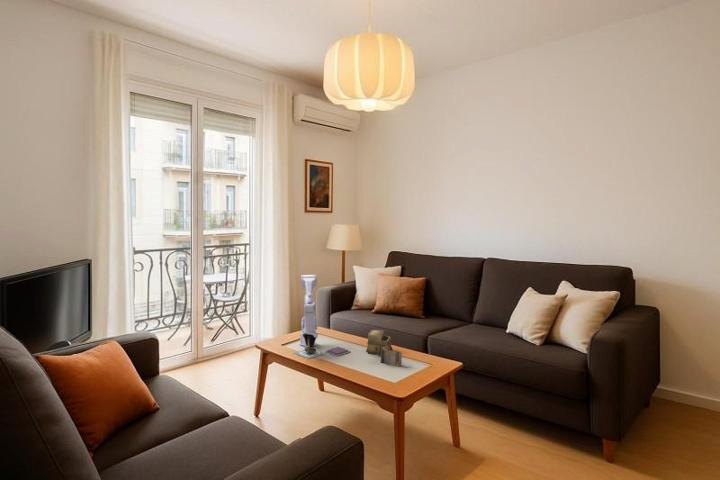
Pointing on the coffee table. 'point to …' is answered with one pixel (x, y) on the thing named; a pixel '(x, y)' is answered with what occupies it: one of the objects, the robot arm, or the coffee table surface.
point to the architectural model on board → (391, 357)
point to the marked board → (309, 354)
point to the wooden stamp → (310, 349)
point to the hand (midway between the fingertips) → (309, 346)
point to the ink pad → (337, 351)
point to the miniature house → (378, 342)
